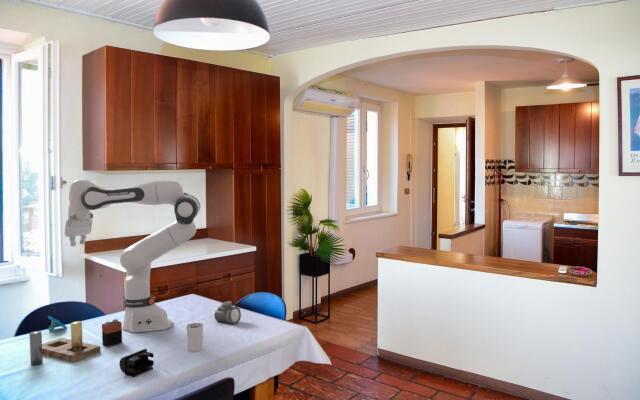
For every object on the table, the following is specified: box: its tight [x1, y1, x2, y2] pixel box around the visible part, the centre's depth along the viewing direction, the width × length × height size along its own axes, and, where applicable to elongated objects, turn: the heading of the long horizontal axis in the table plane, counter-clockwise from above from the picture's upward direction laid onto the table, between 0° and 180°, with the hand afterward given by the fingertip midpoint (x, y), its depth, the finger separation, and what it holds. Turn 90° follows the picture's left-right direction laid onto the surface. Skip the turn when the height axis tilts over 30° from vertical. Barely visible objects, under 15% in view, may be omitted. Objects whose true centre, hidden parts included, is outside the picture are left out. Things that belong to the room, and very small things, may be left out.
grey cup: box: [186, 322, 204, 353], centre depth 203 cm, size 7×7×10 cm
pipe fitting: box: [214, 300, 242, 325], centre depth 240 cm, size 12×8×10 cm
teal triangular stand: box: [47, 315, 68, 333], centre depth 228 cm, size 11×6×10 cm
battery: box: [101, 318, 123, 348], centre depth 210 cm, size 4×7×10 cm, turn 142°
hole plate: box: [42, 337, 101, 363], centre depth 200 cm, size 24×12×2 cm, turn 63°
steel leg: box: [29, 330, 44, 367], centre depth 189 cm, size 4×4×12 cm
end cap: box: [118, 348, 155, 378], centre depth 181 cm, size 10×7×7 cm
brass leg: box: [70, 320, 84, 352], centre depth 197 cm, size 4×4×13 cm
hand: (77, 245), depth 226 cm, fingers open, 8 cm apart
